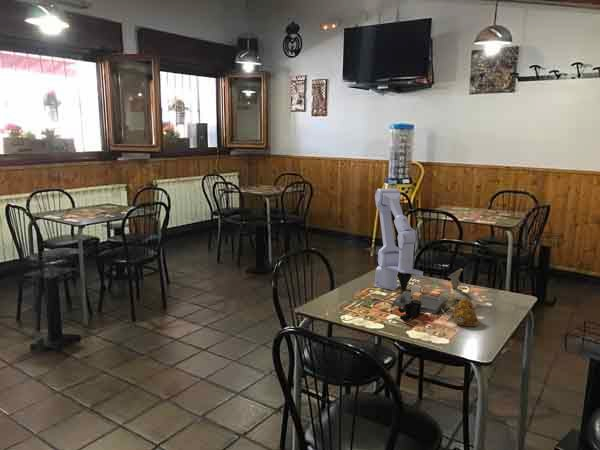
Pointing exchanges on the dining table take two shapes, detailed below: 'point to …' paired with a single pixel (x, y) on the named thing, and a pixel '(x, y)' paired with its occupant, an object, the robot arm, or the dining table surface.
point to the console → (427, 302)
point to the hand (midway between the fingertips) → (403, 290)
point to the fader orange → (417, 296)
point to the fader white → (415, 289)
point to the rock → (465, 313)
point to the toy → (410, 310)
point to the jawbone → (456, 283)
